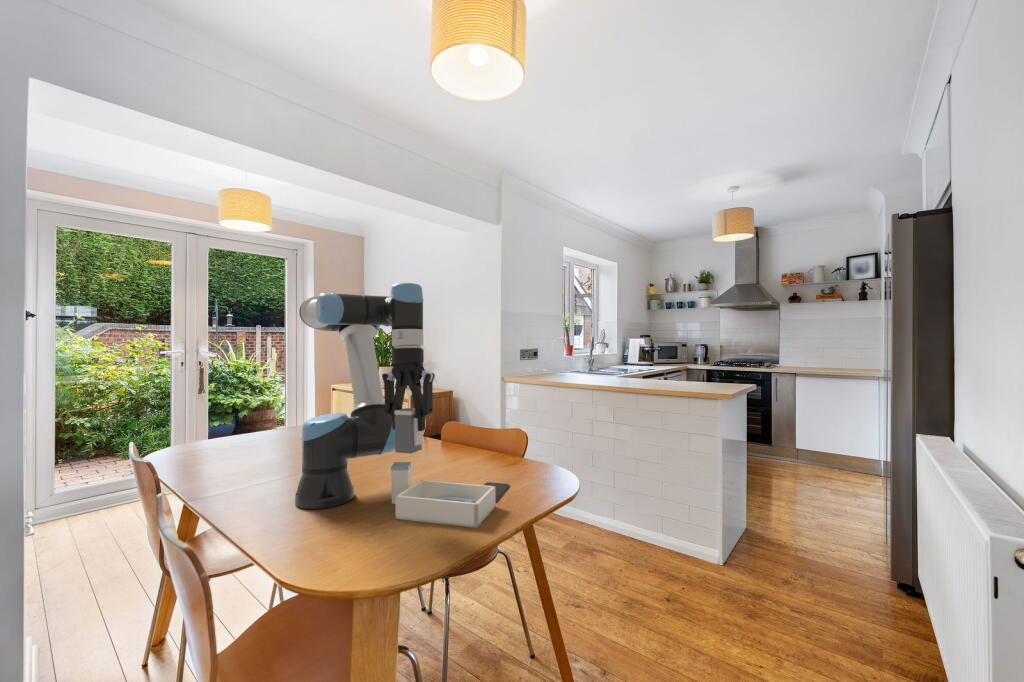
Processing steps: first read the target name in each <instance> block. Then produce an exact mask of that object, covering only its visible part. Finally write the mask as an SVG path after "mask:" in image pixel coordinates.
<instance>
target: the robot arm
mask: <svg viewBox="0 0 1024 682" xmlns="http://www.w3.org/2000/svg"><path fill="white" fill-rule="evenodd" d="M389 295H390V296H385V295H368V294H367V295H365V294H363V295H361V294H349V293H348V294H347V293H336V292H330V293H327V292H326V293H325V292H322V293H320V294H319V295H317V296H316V295H315V296H311V297H308V298H306V299H304V301H303V302H301V304H300V306H299V310H298V312H299V313H298V314H299V317H300V319H301V320H300V321H302V322H303V324H305V325H306V326H307V327H309V328H312V329H315V330H318V331H323V332H324V331H325V332H338V333H339V334H338V335H339V338H340V339H341V340H342V341H344V342H345V347H346V355H347V361H348V368H349V369H348V370H349V374H350V381H351V389H352V395H353V402H354V403H353V404H354V408H353V409H352V411H351V412H350V416H348V414H347V413H345V412H335V413H327V414H326V413H325V414H322V415H318V416H315V417H311V418H309V419H307V420H306V421H305V422H304V423H303V424H302V429H301V430H302V431H301V437H300V440H301V466H302V467H301V476H300V479H299V483H298V485H297V490H296V492H295V496H294V504H295V506H296V507H297V508H300V509H303V510H304V509H305V510H320V509H321V510H322V509H327V508H328V509H329V508H334V507H338V506H341V505H344V504H347V503H348V502H350V501H351V500H353V498H354V497H355V488H354V485H353V483H352V479H351V476H350V474H349V470H348V459H349V460H350V459H354V458H356V459H357V458H362V457H369V456H376V455H377V456H378V455H379V456H380V455H383V454H387V453H392V452H393V451H394V452H395V410H399V409H403V405H404V400H405V393H406V389H407V388H409V390H410V391H411V396H412V401H413V405H414V408H415V411H416V416H415V418H414V446H417V445H420V444H422V445H423V443H424V442H423V440H424V439H423V433H424V432H423V431H425V430H426V417H427V416H428V415H431V414H433V409H434V408H433V407H434V406H433V405H434V403H433V401H434V400H433V385H434V383H433V382H434V379H435V376H436V374H435V373H433V372H428V371H426V370H425V368H424V361H425V359H424V358H425V357H424V354H425V353H424V348H423V347H422V346H423V345H424V295H423V288H422V286H421V285H420V284H417V283H413V282H398V283H393V284H392V285H391V289H390V294H389ZM380 326H384V327H391V346H392V347H394V348H392V349H391V363H392V365H393V366H392V368H391V371H389V372H386V373H382V375H381V377H382V380H383V383H384V385H383V386H384V387H383V388H382V383H381V378H380V371H379V365H378V361H377V353H376V349H375V342H374V337H375V336H376V334H377V331H379V329H380V328H381V327H380ZM421 379H422V381H423V383H422V382H421ZM394 380H395V381H394ZM383 389H384V391H383ZM383 392H384V394H383Z"/></svg>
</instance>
